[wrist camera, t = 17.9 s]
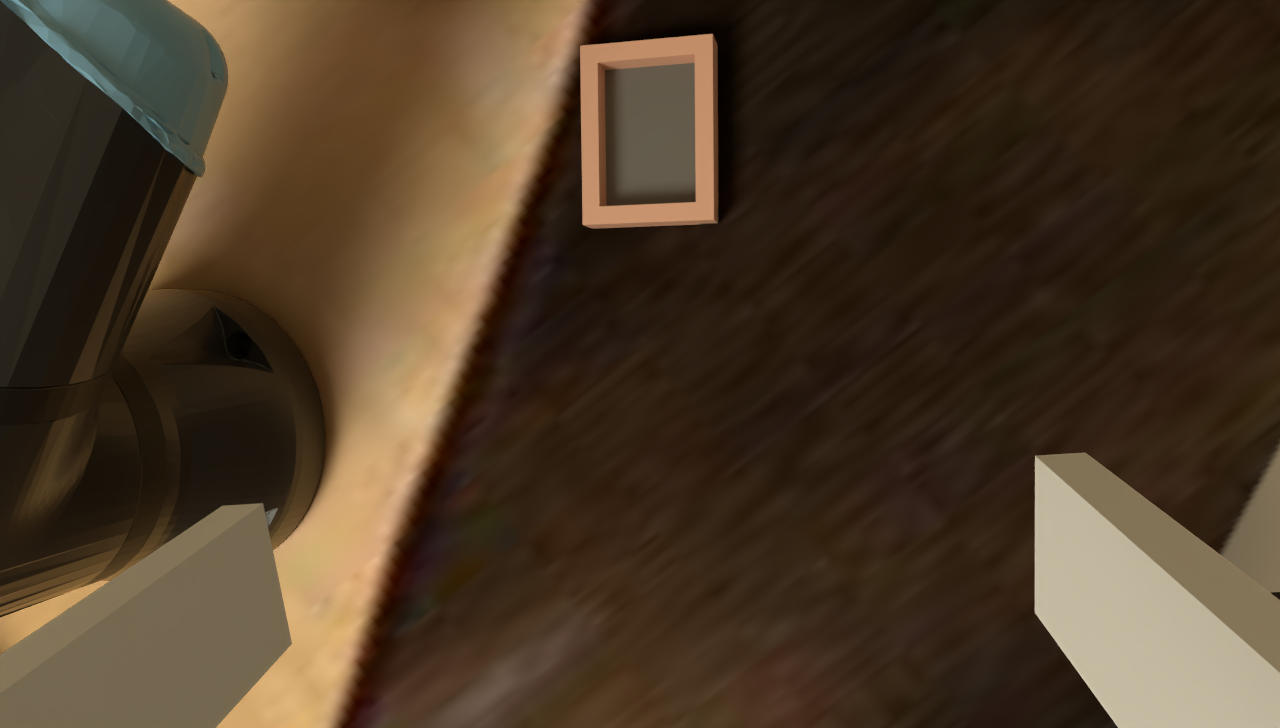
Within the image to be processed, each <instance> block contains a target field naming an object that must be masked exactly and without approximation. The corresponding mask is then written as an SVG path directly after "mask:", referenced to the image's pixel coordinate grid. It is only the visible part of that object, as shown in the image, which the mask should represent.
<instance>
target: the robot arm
mask: <svg viewBox="0 0 1280 728" xmlns="http://www.w3.org/2000/svg"><path fill="white" fill-rule="evenodd" d="M227 86H228V69H227V64H226V60H225V57H224V54H223V52H222V50H221V48H220V46H219V44H218V43H217V41H216V40H215V39H214V37H213V36H212V35H211V34H210V33H209V31H208V30H207V29H206V28H205V27H204V26H202V25H201V24H200V23H199V22H197V21H196V20H195V19H193V18H192V17H190V16H189V15H188V14H186V13H185V12H183V11H182V10H181V9H179V8H178V7H176V6H175V5H173V4H172V3H170V2H169V1H167V0H0V617H3V616H5V615H8V614H11V613H13V612H16V611H19V610H22V609H24V608H27V607H30V606H32V605H35V604H38V603H40V602H43V601H46V600H49V599H51V598H54V597H57V596H59V595H62V594H65V593H67V592H70V591H72V590H75V589H78V588H81V587H83V586H86V585H89V584H92V583H95V582H97V581H100V580H102V581H109V582H108V583H106V584H105V585H103V586H102V587H100V588H99V589H97V590H96V591H94V592H93V593H91V594H90V595H88V596H87V597H85V598H84V599H82V600H81V601H79V602H78V603H77V604H75V605H74V606H72V607H71V608H69V609H68V610H66V611H65V612H63V613H62V614H60V615H59V616H57V617H56V618H54V619H53V620H51V621H50V622H48V623H47V624H45V625H44V626H42V627H41V628H39V629H38V630H36V631H35V632H33V633H32V634H30V635H29V636H27V637H26V638H24V639H23V640H21V641H20V642H18V643H17V644H15V645H14V646H12V647H11V648H9V649H8V650H6V651H5V652H3V653H2V654H0V728H216V727H217V726H218V724H219V723H220V722H221V721H222V720H223V719H224V718H225V717H226V716H227V715H228V713H229V712H230V711H231V710H232V709H233V708H234V707H235V706H236V705H237V704H238V702H239V701H240V700H241V699H242V698H243V697H244V696H245V695H246V694H247V693H248V691H249V690H250V689H251V688H252V687H253V686H254V685H255V684H256V683H257V681H258V680H259V679H260V678H261V677H262V676H263V675H264V674H265V673H266V672H267V670H268V669H269V668H270V667H271V666H272V665H273V664H274V663H275V662H276V661H277V659H278V658H279V657H280V656H281V655H282V654H283V653H284V652H285V651H286V650H287V648H288V647H289V646H290V645H291V644H292V642H291V637H290V632H289V627H288V622H287V617H286V612H285V608H284V603H283V598H282V593H281V588H280V583H279V578H278V574H277V569H276V564H275V559H274V554H273V550H274V549H275V548H276V547H277V546H279V545H280V544H281V543H282V542H283V541H284V540H285V539H286V538H287V537H288V536H289V535H290V534H291V533H292V532H293V530H294V529H295V528H296V526H297V525H298V524H299V522H300V521H301V519H302V518H303V516H304V515H305V513H306V511H307V509H308V507H309V505H310V503H311V501H312V499H313V497H314V494H315V491H316V488H317V485H318V482H319V478H320V474H321V469H322V464H323V457H324V421H323V413H322V408H321V403H320V399H319V395H318V391H317V388H316V385H315V382H314V380H313V377H312V375H311V372H310V370H309V368H308V366H307V364H306V362H305V360H304V358H303V357H302V355H301V353H300V351H299V350H298V349H297V347H296V346H295V344H294V343H293V341H292V340H291V339H290V338H289V336H288V335H287V334H286V333H285V332H284V331H283V330H282V328H281V327H280V326H279V325H278V324H276V323H275V322H274V321H273V320H272V319H271V318H270V317H268V316H267V315H266V314H265V313H263V312H262V311H260V310H259V309H258V308H256V307H254V306H253V305H251V304H249V303H247V302H245V301H243V300H241V299H239V298H236V297H233V296H231V295H227V294H224V293H220V292H215V291H208V290H192V289H157V290H151V291H148V288H149V286H150V284H151V281H152V279H153V277H154V275H155V272H156V270H157V268H158V265H159V263H160V261H161V258H162V256H163V254H164V251H165V249H166V247H167V244H168V242H169V240H170V237H171V235H172V233H173V231H174V228H175V226H176V224H177V221H178V219H179V217H180V214H181V212H182V210H183V207H184V205H185V203H186V200H187V198H188V196H189V193H190V191H191V189H192V186H193V184H194V182H195V180H196V177H197V176H198V177H201V178H202V176H203V174H204V172H205V162H204V159H203V155H204V152H205V150H206V147H207V144H208V141H209V138H210V136H211V133H212V130H213V127H214V124H215V122H216V119H217V116H218V113H219V110H220V108H221V105H222V102H223V99H224V96H225V94H226V90H227ZM1035 613H1036V615H1037V616H1038V618H1039V619H1040V620H1041V622H1042V623H1043V624H1044V626H1045V627H1046V629H1047V630H1048V631H1049V633H1050V634H1051V635H1052V637H1053V638H1054V640H1055V641H1056V642H1057V644H1058V645H1059V647H1060V648H1061V649H1062V651H1063V652H1064V653H1065V655H1066V656H1067V658H1068V659H1069V660H1070V662H1071V663H1072V665H1073V666H1074V667H1075V669H1076V670H1077V671H1078V673H1079V674H1080V676H1081V677H1082V678H1083V680H1084V681H1085V682H1086V684H1087V685H1088V687H1089V688H1090V689H1091V691H1092V692H1093V694H1094V695H1095V696H1096V698H1097V699H1098V700H1099V702H1100V703H1101V705H1102V706H1103V707H1104V709H1105V710H1106V711H1107V713H1108V714H1109V716H1110V717H1111V718H1112V720H1113V721H1114V723H1115V724H1116V725H1117V727H1118V728H1280V592H1274V593H1270V592H1268V591H1267V590H1266V589H1265V588H1263V587H1262V586H1261V585H1259V584H1258V583H1257V582H1255V581H1254V580H1253V579H1251V578H1250V577H1249V576H1247V575H1246V574H1245V573H1243V572H1242V571H1241V570H1239V569H1238V568H1237V567H1235V566H1234V565H1233V564H1231V563H1230V562H1229V561H1228V560H1226V559H1225V558H1224V557H1222V556H1221V555H1220V554H1218V553H1217V552H1216V551H1214V550H1213V549H1212V548H1210V547H1209V546H1208V545H1206V544H1205V543H1204V542H1203V541H1201V540H1200V539H1199V538H1197V537H1196V536H1195V535H1193V534H1192V533H1191V532H1189V531H1188V530H1187V529H1185V528H1184V527H1183V526H1181V525H1180V524H1179V523H1177V522H1176V521H1175V520H1173V519H1172V518H1171V517H1170V516H1168V515H1167V514H1166V513H1164V512H1163V511H1162V510H1160V509H1159V508H1158V507H1156V506H1155V505H1154V504H1152V503H1151V502H1150V501H1148V500H1147V499H1146V498H1144V497H1143V496H1142V495H1140V494H1139V493H1138V492H1137V491H1135V490H1134V489H1133V488H1131V487H1130V486H1129V485H1127V484H1126V483H1125V482H1123V481H1122V480H1121V479H1119V478H1118V477H1117V476H1115V475H1114V474H1113V473H1111V472H1110V471H1109V470H1107V469H1106V468H1105V467H1104V466H1102V465H1101V464H1100V463H1098V462H1097V461H1096V460H1094V459H1093V458H1092V457H1090V456H1089V455H1088V454H1086V453H1072V454H1056V455H1040V456H1035Z"/></svg>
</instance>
